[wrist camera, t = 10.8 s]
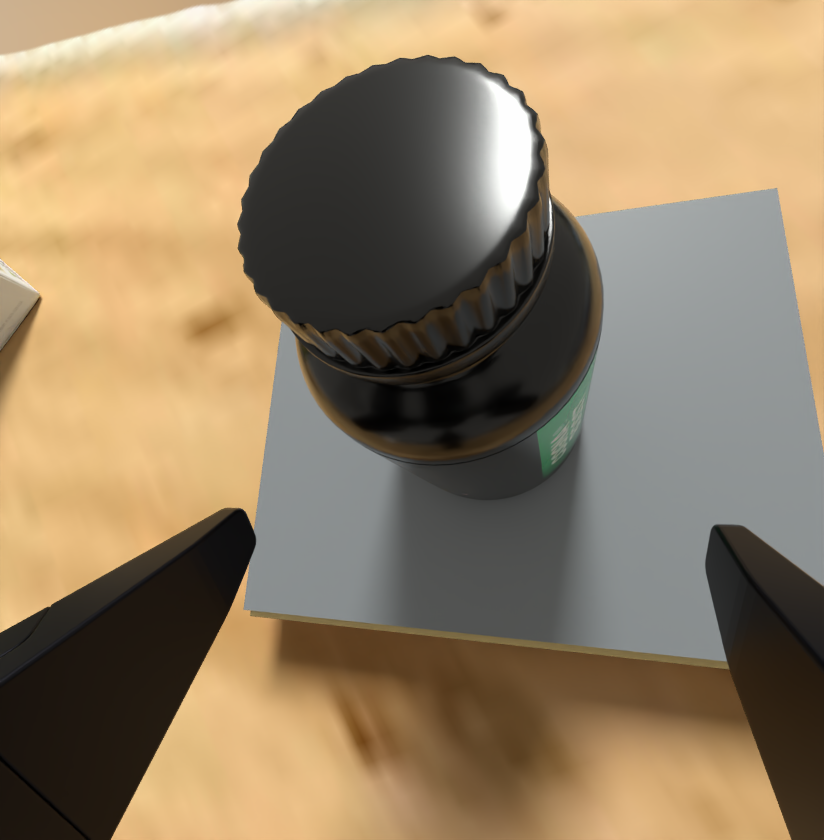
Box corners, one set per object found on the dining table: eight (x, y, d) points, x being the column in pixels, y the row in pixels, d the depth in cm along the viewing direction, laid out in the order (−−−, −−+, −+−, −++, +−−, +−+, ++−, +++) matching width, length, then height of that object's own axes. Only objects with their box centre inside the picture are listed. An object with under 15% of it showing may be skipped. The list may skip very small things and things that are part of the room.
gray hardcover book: (809, 663, 16) (864, 688, 13) (283, 608, 21) (242, 617, 19) (745, 239, 20) (777, 187, 17) (319, 289, 25) (290, 257, 23)
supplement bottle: (618, 458, 16) (755, 252, 5) (437, 530, 17) (223, 492, 6) (534, 301, 18) (503, -73, 7) (381, 374, 20) (153, 142, 9)
